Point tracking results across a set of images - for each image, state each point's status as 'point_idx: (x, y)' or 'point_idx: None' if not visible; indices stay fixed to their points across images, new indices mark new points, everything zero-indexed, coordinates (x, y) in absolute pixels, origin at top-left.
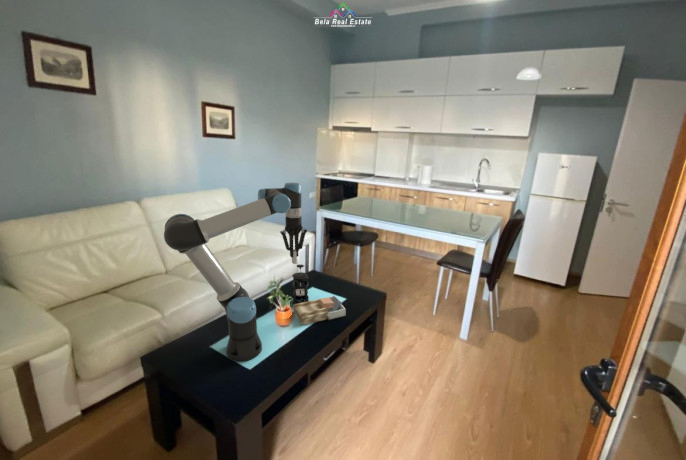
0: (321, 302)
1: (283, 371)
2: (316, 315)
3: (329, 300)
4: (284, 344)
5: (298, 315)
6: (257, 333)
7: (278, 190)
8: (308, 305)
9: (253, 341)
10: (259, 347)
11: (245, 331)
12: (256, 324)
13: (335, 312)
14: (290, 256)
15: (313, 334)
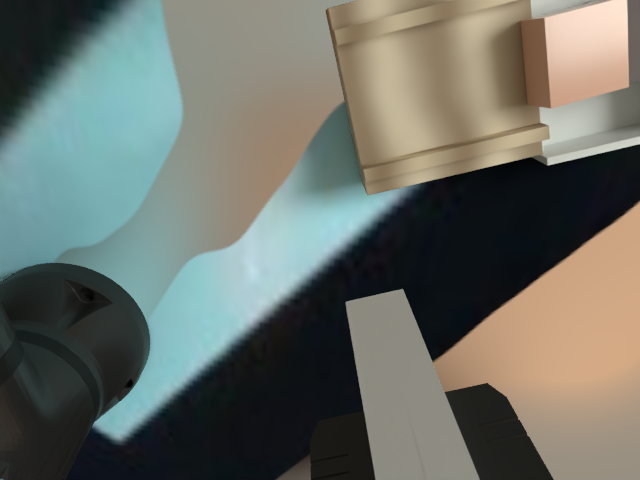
0: (541, 67)
1: (248, 468)
2: (462, 171)
3: (611, 47)
4: (255, 324)
5: (350, 121)
6: (105, 362)
7: None
8: (439, 30)
9: (96, 419)
10: (135, 377)
11: None
12: (80, 429)
13: (592, 153)
14: (320, 437)
15: (406, 274)
